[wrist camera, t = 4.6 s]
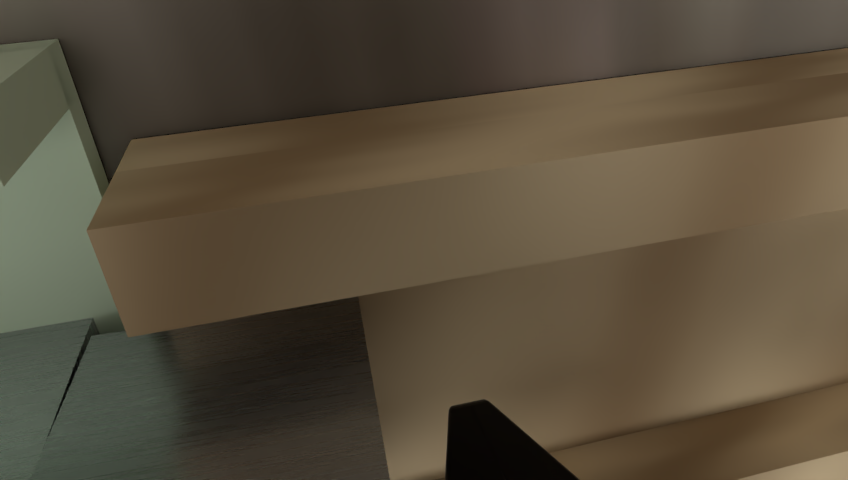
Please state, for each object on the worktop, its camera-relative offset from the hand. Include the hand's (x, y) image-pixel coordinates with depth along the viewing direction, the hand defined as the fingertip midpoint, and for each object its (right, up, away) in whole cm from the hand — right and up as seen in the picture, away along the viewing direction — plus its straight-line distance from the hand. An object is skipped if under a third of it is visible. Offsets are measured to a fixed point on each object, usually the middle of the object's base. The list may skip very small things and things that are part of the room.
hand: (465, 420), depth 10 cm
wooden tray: (+4, +2, +3) cm, 5 cm away
